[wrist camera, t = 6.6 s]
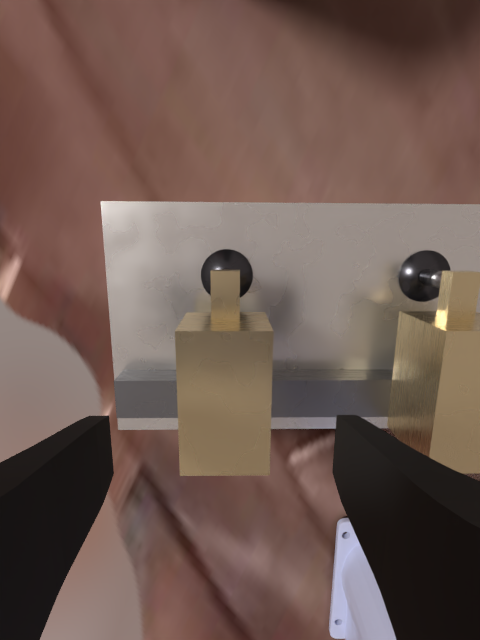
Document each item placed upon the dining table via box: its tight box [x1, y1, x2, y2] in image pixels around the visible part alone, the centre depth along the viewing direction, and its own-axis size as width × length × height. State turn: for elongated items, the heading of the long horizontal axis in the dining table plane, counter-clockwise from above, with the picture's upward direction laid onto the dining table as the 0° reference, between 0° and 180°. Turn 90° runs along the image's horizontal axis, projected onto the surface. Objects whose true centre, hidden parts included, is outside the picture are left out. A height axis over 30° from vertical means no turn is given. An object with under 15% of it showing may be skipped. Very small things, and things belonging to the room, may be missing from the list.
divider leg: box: [175, 268, 274, 476], centre depth 16 cm, size 8×4×5 cm, turn 0°
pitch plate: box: [101, 201, 480, 474], centre depth 17 cm, size 12×20×7 cm, turn 90°
